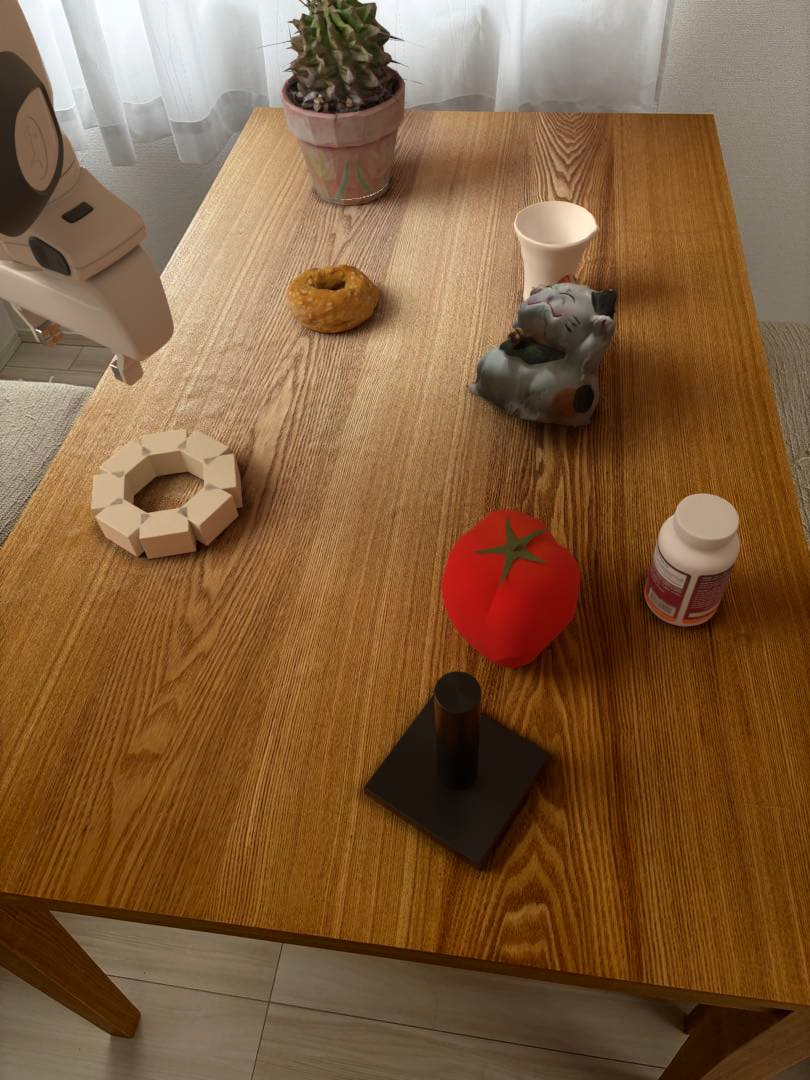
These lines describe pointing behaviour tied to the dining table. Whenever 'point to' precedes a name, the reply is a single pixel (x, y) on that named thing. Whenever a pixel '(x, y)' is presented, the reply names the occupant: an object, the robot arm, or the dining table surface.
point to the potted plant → (344, 99)
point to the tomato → (510, 587)
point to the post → (457, 772)
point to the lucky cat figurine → (551, 355)
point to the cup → (552, 241)
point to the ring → (173, 526)
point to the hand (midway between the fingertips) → (90, 359)
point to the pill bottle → (693, 560)
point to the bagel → (332, 298)
